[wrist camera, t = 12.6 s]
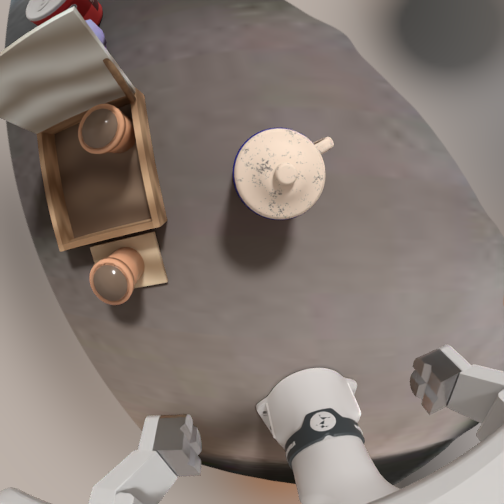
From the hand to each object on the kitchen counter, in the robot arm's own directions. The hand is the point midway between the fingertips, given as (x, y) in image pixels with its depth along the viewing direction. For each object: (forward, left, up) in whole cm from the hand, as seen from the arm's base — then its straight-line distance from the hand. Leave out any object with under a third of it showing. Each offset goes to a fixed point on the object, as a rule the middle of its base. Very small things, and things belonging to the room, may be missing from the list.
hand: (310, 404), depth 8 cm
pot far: (-2, +17, -28) cm, 33 cm away
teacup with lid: (+7, -5, -29) cm, 31 cm away
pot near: (+15, +14, -28) cm, 35 cm away
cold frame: (+13, +18, -29) cm, 36 cm away
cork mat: (-2, +17, -29) cm, 34 cm away
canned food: (+37, +19, -29) cm, 51 cm away
